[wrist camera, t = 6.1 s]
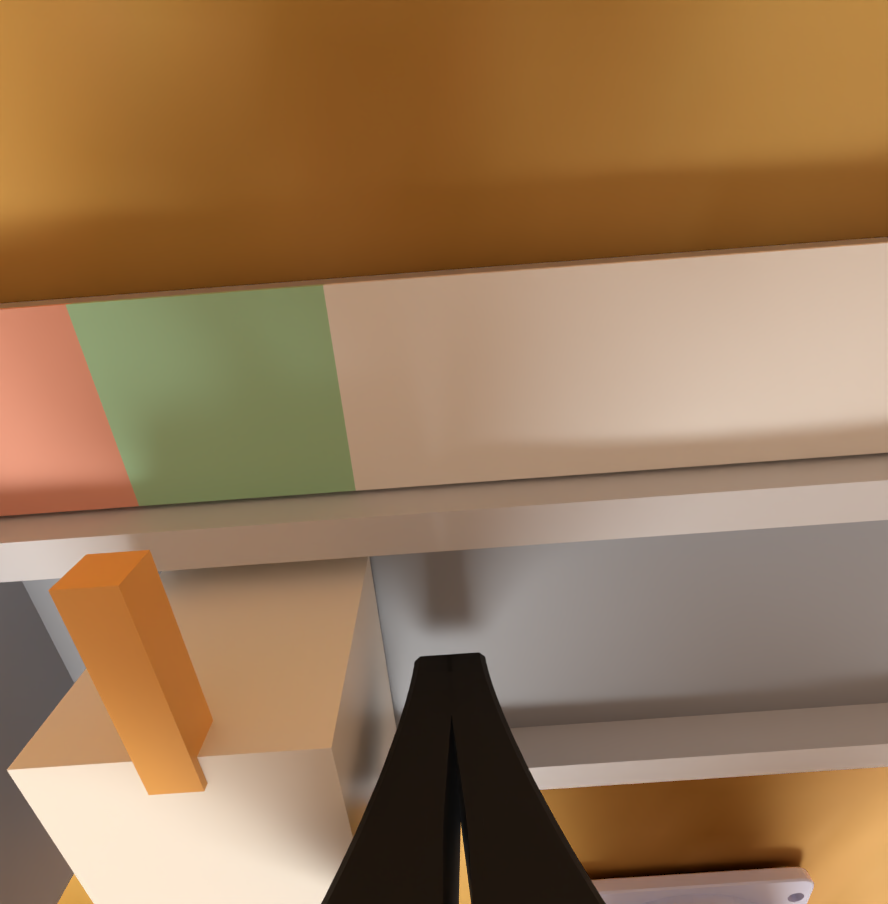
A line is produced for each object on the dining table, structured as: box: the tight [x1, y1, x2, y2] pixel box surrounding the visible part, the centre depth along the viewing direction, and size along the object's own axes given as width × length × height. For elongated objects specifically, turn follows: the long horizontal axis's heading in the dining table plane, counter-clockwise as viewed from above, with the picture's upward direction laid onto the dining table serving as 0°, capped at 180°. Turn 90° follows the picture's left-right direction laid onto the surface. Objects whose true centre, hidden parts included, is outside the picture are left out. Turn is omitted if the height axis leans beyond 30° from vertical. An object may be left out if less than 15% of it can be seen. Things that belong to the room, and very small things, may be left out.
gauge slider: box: [7, 550, 396, 904], centre depth 8 cm, size 8×4×4 cm, turn 4°
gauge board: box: [0, 237, 888, 904], centre depth 9 cm, size 12×24×5 cm, turn 94°
